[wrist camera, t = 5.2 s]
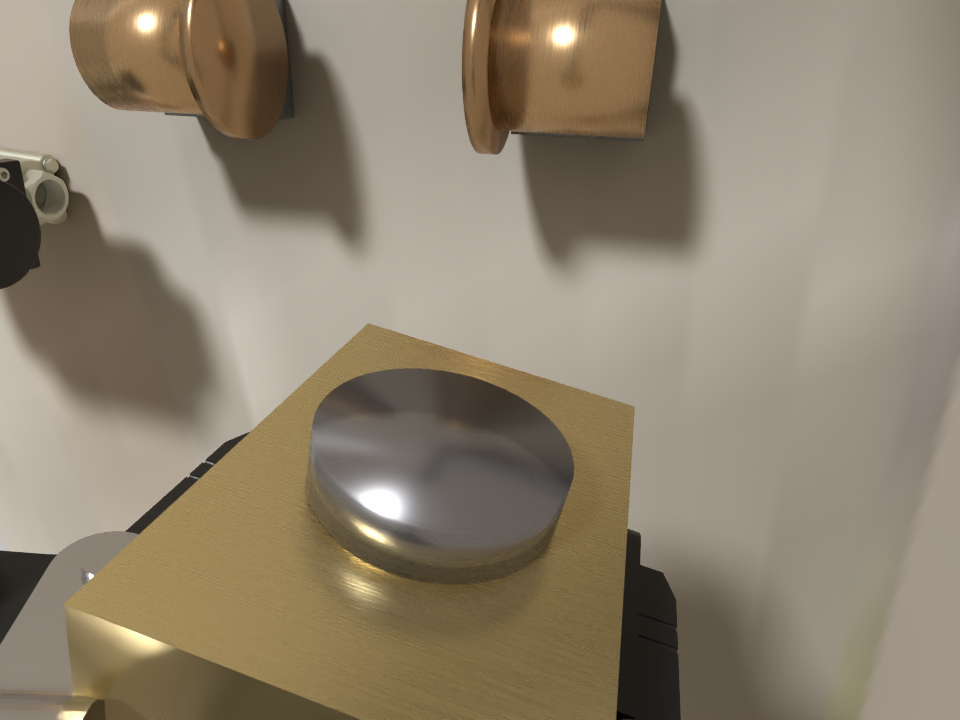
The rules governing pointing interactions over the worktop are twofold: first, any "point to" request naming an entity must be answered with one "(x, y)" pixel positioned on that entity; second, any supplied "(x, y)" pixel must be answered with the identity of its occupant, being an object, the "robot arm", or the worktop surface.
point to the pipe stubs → (485, 64)
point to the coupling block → (380, 556)
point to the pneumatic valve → (26, 209)
